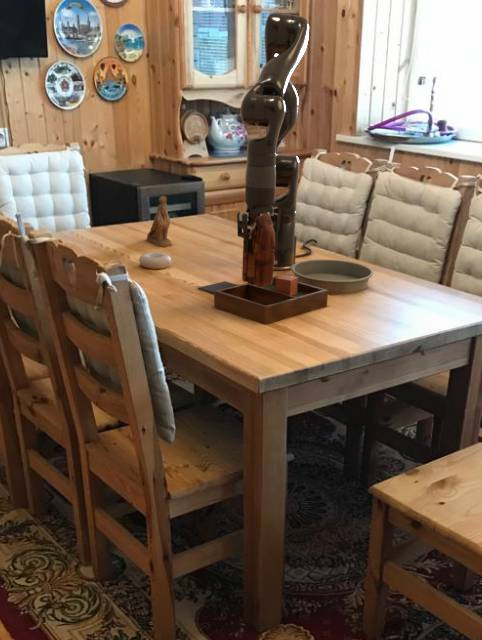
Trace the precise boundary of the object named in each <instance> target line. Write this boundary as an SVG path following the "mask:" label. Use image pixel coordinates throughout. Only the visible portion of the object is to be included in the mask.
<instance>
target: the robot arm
mask: <svg viewBox="0 0 482 640" xmlns="http://www.w3.org/2000/svg"><path fill="white" fill-rule="evenodd" d="M309 32H310V26H309V20H308V19H307V18H306V17H304V16H302V15H296V14H289V13H283V12H282V13H281V12H271V13H270V14H268V16H267V17H266V21H265V25H264V57H265V58H264V59H265V64H264V66H263V67H262V69H261V71H260V74H259V76H258V79H257V82H256V83H254V85H253V86H252V87H251V88H250V89H249V91H248V92H247V93H246V94H245V95H244V96H243V99H242V101H241V104H240V109H239V110H240V111H239V113H240V119H241V120H242V122H243V124H244V125H246V126H248V127H253V128H264V135H262V136H258V137H252V138H249V140H248V141H247V144H246V145H247V147H246V168H245V181H244V183H245V184H244V203H245V204H246V210H245V211H244V212H240V211H238V212H237V213H236V222H237V223H236V226H237V228H236V229H237V236H238V237H239V238H242V239H243V240H244V252H245V254H248V255H250V254H252V247H253V240H252V238H253V235H254V232H256V231H257V227H256V226H257V225H256V222H255V224H254V226H253V227H251V226H249V225H248V224H249V222H250V224H252V223H253V222H254V221H255V218H256V216H259V218H260V217H261V216H262V215H263V214H261V212H265V213H267V214H268V215H269V216H270V218H271V220H272V224H271V225H272V227H273V229H274V231H275V248H274V250H275V252H274V256H275V260H274V269H273V271H274V270H275V271H276V270H277V271H288V270H291V267H292V266H293V265H294V264H296V258H303V257H307V256H309V255H311V254H312V252H313V249H311V248H309V247H308V246H307V245H308V244H309V243H311V242H314V244H318V241H317V240H316V239H315V238H311V239H308V240H306V241H305V242H304V243H303V244H302V248H304V249H305V250H306V251H308V252H305V253H301V254H297V255H296V253H297V238H298V237H297V235H296V218H297V198H298V197H297V196H298V187H299V177H300V159H299V157H298V156H297V155H292V154H277V151H278V149H279V147H280V145H282V143H283V141H285V139H286V138H287V136H288V135H289V134H290V133H291V132H292V130H293V129H294V127H295V125H296V124H297V121H298V114H299V112H298V111H299V96H298V93H297V90H296V88H295V86H294V83H293V82H292V81H291V80H290V78H291V76H292V74H293V73H294V71H295V70H296V67H297V66H298V65H299V63H300V61H301V60H302V58H303V56H304V54H305V52H306V49H307V46H308V41H309V34H310V33H309ZM276 188H280V189H281V188H283V189H286V191H285V192H284V193H282V194H281V195H279V196H276ZM249 230H251V231H250V233H249ZM248 233H249V234H248Z"/></svg>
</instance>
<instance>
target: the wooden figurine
mask: <svg viewBox="0 0 482 640" xmlns="http://www.w3.org/2000/svg"><path fill="white" fill-rule="evenodd" d="M261 214H263V215H262V216H261V217H260V218H259V216H256V218H255V221H254V222H253V223H252V224H250V222H249V224H248V225H249V226H251V227H253V226H254V224H255V222H256V225H257V226H256V227H257V231H256V232H254V235H253V238H252V240H253V247H252V254H250V255H248V254H245V252H244V239H243V241H242V243H243V244H242V246H243V247H242V248H243V249H242V268H241V269H242V270H241V271H242V273H241V280H242V282H244V283H249V284H251V285H256V286H257V287H265V286H270V285H272V281H273V277H274V270H273V269H274V260H275V256H274V252H275V250H274V248H275V231H274V229H273V227H272V225H271V224H272V220H271V218H270V216H269V215H268V214H267V213H265V212H261ZM250 231H251V230H249V233H250ZM249 233H248V234H249Z"/></svg>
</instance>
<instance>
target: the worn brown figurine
mask: <svg viewBox="0 0 482 640" xmlns="http://www.w3.org/2000/svg"><path fill="white" fill-rule="evenodd" d="M167 201H168V199H167V196H166V195H165V194H162V195H160V196H159V197H158V202H159V204H157V207H156V213H155V215H154V218H153V222H152V224H151V227H150V230H149V231H148V233H147V236H146V241H148V242H149V243H151V244H154V246H155V245H156V246H158V247H169V246H170V247H171V246H172V241H171V239H169V238H168V233H169V228H170V225H171V216H170V214H169V213H168V212H169V211H168V209H169V206H168V204H167Z"/></svg>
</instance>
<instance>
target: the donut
mask: <svg viewBox="0 0 482 640" xmlns="http://www.w3.org/2000/svg"><path fill="white" fill-rule="evenodd" d="M138 259H139V260H138V262H139V264H140V265H141V266H142V267H143V268H145V269H152V270H160V269H166V268H168V267H169V266H171V264H172V258H171V256H170V255H169V254H167V253H163V252H146V253H143V254H141V255H140V257H139V258H138Z"/></svg>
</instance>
